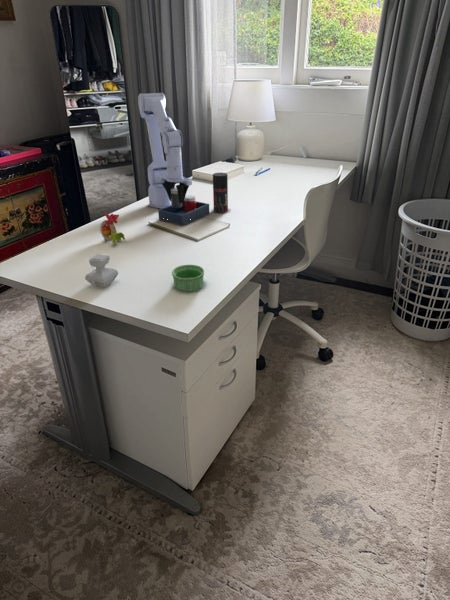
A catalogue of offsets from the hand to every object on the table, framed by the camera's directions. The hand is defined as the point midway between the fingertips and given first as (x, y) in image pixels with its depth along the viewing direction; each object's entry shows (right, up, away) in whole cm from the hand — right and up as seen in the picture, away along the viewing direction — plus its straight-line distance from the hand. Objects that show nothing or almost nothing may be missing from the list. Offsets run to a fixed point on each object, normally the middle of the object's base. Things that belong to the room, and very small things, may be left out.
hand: (176, 201), depth 164 cm
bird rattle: (-21, -18, -16) cm, 32 cm away
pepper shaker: (0, -2, +1) cm, 2 cm away
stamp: (-16, -34, -43) cm, 57 cm away
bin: (+2, -5, +6) cm, 8 cm away
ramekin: (+8, -34, -45) cm, 57 cm away
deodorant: (+17, -1, +12) cm, 21 cm away
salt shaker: (+5, -3, +9) cm, 10 cm away
